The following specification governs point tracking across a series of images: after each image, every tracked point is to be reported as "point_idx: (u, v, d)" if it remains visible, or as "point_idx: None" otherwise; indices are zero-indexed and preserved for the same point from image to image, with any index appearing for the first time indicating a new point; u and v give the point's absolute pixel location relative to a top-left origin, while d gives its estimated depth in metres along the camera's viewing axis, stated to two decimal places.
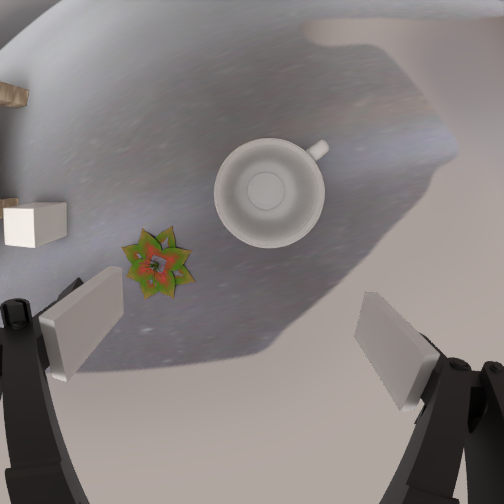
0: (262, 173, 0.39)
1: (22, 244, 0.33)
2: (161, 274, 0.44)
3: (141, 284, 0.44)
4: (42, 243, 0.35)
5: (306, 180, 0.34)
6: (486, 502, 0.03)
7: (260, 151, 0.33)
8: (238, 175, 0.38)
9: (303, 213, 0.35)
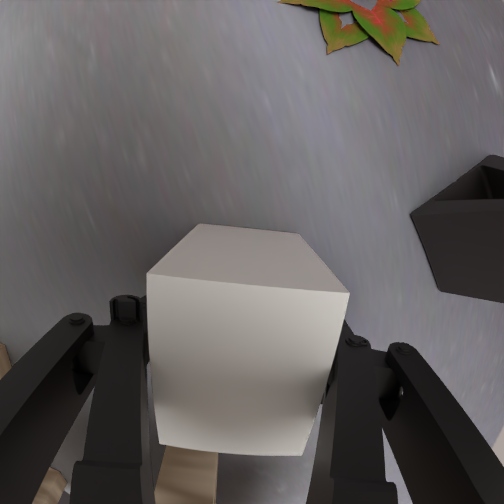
0: None
1: (319, 374, 0.08)
2: None
3: (410, 35, 0.13)
4: (325, 272, 0.10)
5: None
6: (431, 492, 0.05)
7: None
8: None
9: None
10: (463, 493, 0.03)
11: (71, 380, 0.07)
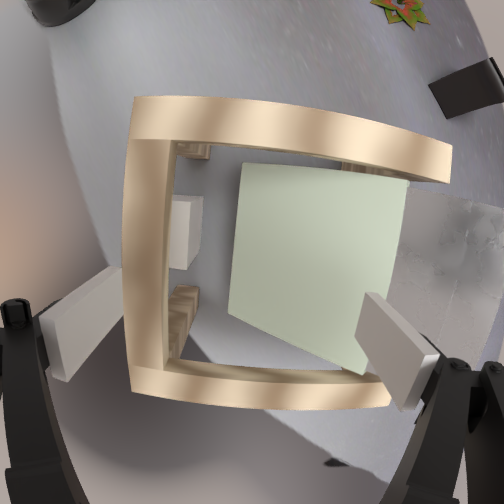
0: None
1: None
2: (406, 3, 0.30)
3: (418, 20, 0.31)
4: None
5: None
6: (486, 502, 0.03)
7: None
8: None
9: None
10: None
11: None
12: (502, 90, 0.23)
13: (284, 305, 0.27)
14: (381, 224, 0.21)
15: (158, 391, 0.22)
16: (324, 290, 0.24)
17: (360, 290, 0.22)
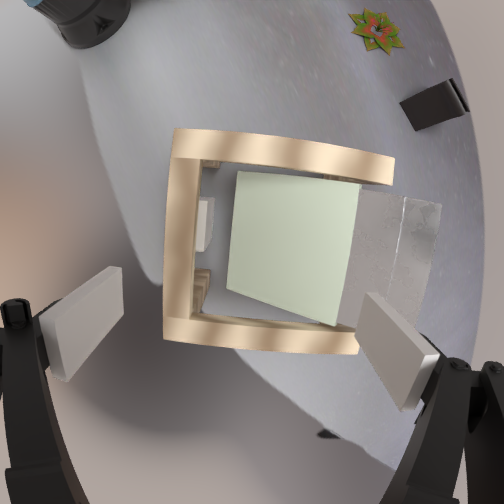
0: None
1: None
2: (384, 30, 0.41)
3: (393, 45, 0.41)
4: None
5: None
6: (486, 502, 0.03)
7: None
8: None
9: None
10: None
11: None
12: (460, 106, 0.34)
13: (272, 278, 0.37)
14: (341, 215, 0.31)
15: (184, 337, 0.32)
16: (302, 264, 0.34)
17: (328, 262, 0.32)
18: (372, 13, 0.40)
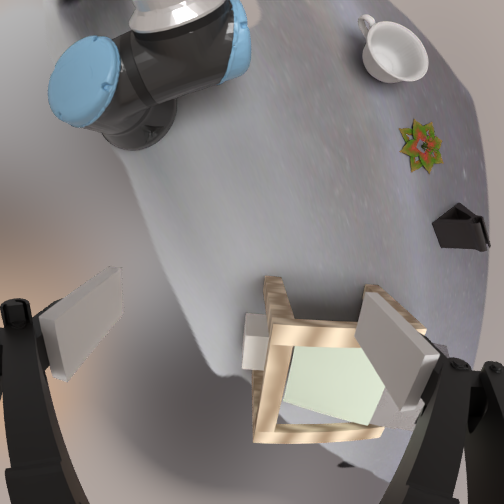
0: None
1: None
2: (428, 145, 0.50)
3: (434, 162, 0.50)
4: (247, 316, 0.55)
5: (383, 32, 0.38)
6: (486, 502, 0.03)
7: (371, 52, 0.39)
8: None
9: (402, 39, 0.38)
10: None
11: None
12: (483, 244, 0.43)
13: (324, 398, 0.45)
14: None
15: (268, 441, 0.42)
16: (349, 392, 0.43)
17: (369, 392, 0.41)
18: (420, 126, 0.48)
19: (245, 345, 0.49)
